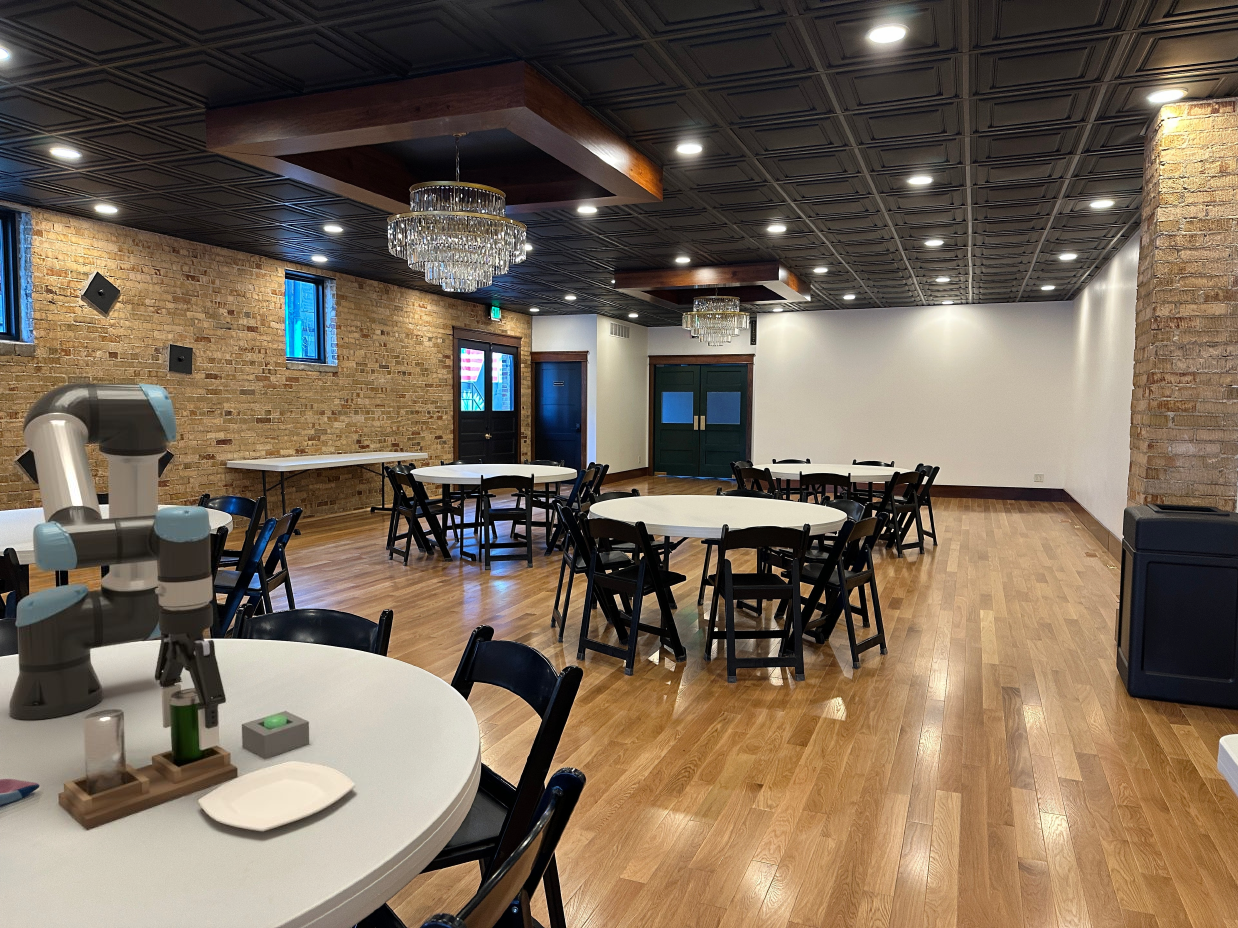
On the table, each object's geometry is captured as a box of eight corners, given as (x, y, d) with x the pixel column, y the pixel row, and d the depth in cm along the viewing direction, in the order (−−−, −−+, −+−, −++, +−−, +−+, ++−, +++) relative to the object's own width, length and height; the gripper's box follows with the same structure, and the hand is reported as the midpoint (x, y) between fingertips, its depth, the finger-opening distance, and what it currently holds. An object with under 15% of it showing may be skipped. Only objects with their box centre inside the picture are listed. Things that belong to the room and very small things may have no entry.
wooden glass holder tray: (58, 803, 119) (57, 780, 119) (204, 756, 135) (203, 736, 135) (87, 829, 111) (86, 805, 111) (237, 776, 128) (237, 755, 127)
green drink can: (174, 776, 124) (170, 701, 123) (171, 764, 129) (167, 691, 128) (212, 768, 127) (209, 694, 126) (208, 755, 132) (205, 684, 131)
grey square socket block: (242, 746, 139) (241, 723, 139) (286, 732, 145) (285, 710, 145) (265, 758, 134) (264, 735, 134) (309, 743, 140) (308, 721, 140)
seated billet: (81, 795, 118) (78, 716, 117) (119, 783, 122) (116, 706, 121) (94, 805, 115) (90, 724, 114) (132, 793, 119) (129, 714, 118)
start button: (260, 735, 139) (260, 718, 139) (280, 729, 142) (279, 712, 142) (270, 740, 137) (270, 723, 137) (290, 734, 140) (290, 717, 140)
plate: (259, 852, 106) (258, 838, 106) (179, 814, 116) (178, 801, 116) (373, 794, 122) (373, 782, 122) (294, 765, 133) (294, 753, 132)
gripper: (129, 597, 131) (134, 723, 132) (195, 622, 115) (200, 764, 117) (177, 589, 137) (181, 710, 138) (247, 612, 121) (251, 748, 122)
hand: (190, 735), depth 127 cm, fingers open, 13 cm apart
